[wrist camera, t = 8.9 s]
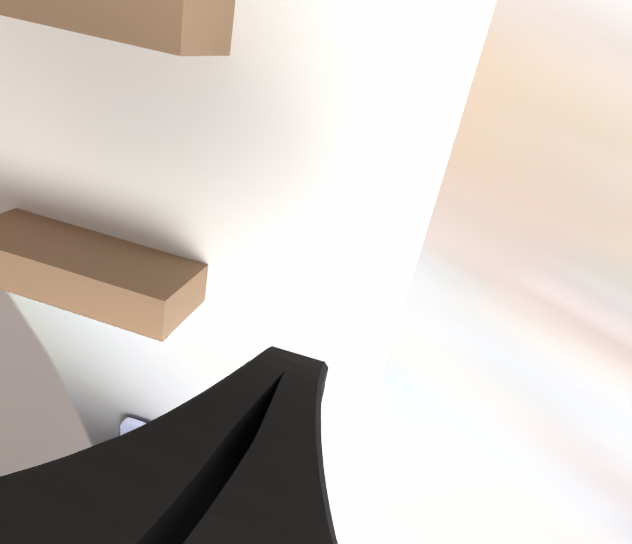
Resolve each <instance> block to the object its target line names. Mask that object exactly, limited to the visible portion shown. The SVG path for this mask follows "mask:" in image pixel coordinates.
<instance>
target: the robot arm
mask: <svg viewBox="0 0 632 544" xmlns="http://www.w3.org/2000/svg"><path fill="white" fill-rule="evenodd" d="M328 368H329V367H328V366H327V364H326V363H325V361H321V360H318V359H314V358H311V357H308V356H304V355H301V354H298V353H294V352H291V351H287V350H284V349H281V348H277V347H274V346H271V347H269V348H267V349H265V350H264V351H263V352H261V353H260V354H258V355H257V356H256V357H254V358H253V359H252V360H250V361H249V362H247V363H246V364H245V365H243V366H242V367H240V368H239V369H237V370H236V371H235V372H233V373H232V374H230V375H229V376H227V377H226V378H224V379H223V380H221V381H219V382H218V383H216V384H215V385H213V386H212V387H210V388H209V389H207V390H206V391H204V392H202V393H201V394H199V395H197V396H196V397H194V398H192V399H190V400H189V401H187V402H185V403H183V404H182V405H180V406H178V407H177V408H175V409H173V410H171V411H170V412H168V413H166V414H164V415H162V416H160V417H158V418H156V419H154V420H152V421H150V422H148V423H145V422H142V421H139V420H137V419H134V418H126V419H124V420H123V422H122V423H121V424H120V436H118V437H116V438H113V439H111V440H108V441H105V442H103V443H100V444H98V445H95V446H92V447H90V448H87V449H85V450H82V451H79V452H77V453H74V454H71V455H69V456H66V457H63V458H60V459H57V460H54V461H51V462H48V463H45V464H42V465H38V466H36V467H32V468H29V469H25V470H22V471H18V472H15V473H11V474H8V475H5V476H1V477H0V544H337V540H336V536H335V531H334V527H333V522H332V517H331V512H330V507H329V501H328V495H327V490H326V483H325V475H324V467H323V457H322V445H321V401H322V396H323V392H324V387H325V382H326V378H327V373H328Z"/></svg>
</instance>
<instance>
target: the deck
mask: <svg viewBox="0 0 632 544" xmlns="http://www.w3.org/2000/svg"><path fill="white" fill-rule="evenodd" d="M496 2H497V0H0V289H2V290H5V291H8V292H11V293H14V294H17V295H20V296H23V297H26V298H29V299H32V300H35V301H39V302H42V303H45V304H48V305H51V306H54V307H57V308H60V309H63V310H66V311H69V312H72V313H75V314H79V315H82V316H85V317H88V318H91V319H94V320H97V321H100V322H103V323H106V324H109V325H112V326H115V327H119V328H122V329H125V330H128V331H131V332H134V333H137V334H140V335H143V336H146V337H149V338H152V339H155V340H158V341H162V342H163V341H164V340H165V339H166V338H167V337H168V336H169V335H172V336H175V337H178V338H181V339H184V340H187V341H190V342H193V343H196V344H199V345H203V346H206V347H209V348H212V349H215V350H218V351H221V352H224V353H227V354H230V355H234V356H237V357H240V358H243V359H246V360H249V361H250V360H252V359H253V358H254V357H256V356H257V355H258V354H260V353H261V352H263V351H264V350H265V349H267V348H269V347H271V346H274V347H277V348H281V349H284V350H287V351H291V352H294V353H298V354H301V355H304V356H308V357H311V358H314V359H318V360H321V361H325V363H326V364H327V366H328V367H329V368H328V373H327V378H326V382H325V385H327V386H330V387H333V388H336V389H339V390H342V391H345V392H348V393H352V394H355V395H358V396H361V397H364V398H367V399H370V400H373V401H375V399H376V395H377V392H378V389H379V385H380V382H381V379H382V376H383V372H384V369H385V366H386V363H387V359H388V356H389V353H390V349H391V346H392V343H393V340H394V336H395V333H396V330H397V326H398V323H399V320H400V317H401V313H402V310H403V307H404V303H405V300H406V297H407V294H408V290H409V287H410V284H411V280H412V277H413V274H414V271H415V267H416V264H417V261H418V258H419V254H420V251H421V248H422V244H423V241H424V238H425V235H426V231H427V228H428V225H429V221H430V218H431V215H432V212H433V208H434V205H435V202H436V198H437V195H438V192H439V189H440V185H441V182H442V179H443V176H444V172H445V169H446V166H447V162H448V159H449V156H450V153H451V149H452V146H453V143H454V139H455V136H456V133H457V130H458V126H459V123H460V120H461V116H462V113H463V110H464V107H465V103H466V100H467V97H468V94H469V90H470V87H471V84H472V80H473V77H474V74H475V71H476V67H477V64H478V61H479V57H480V54H481V51H482V48H483V44H484V41H485V38H486V34H487V31H488V28H489V25H490V21H491V18H492V15H493V12H494V8H495V5H496Z"/></svg>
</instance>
